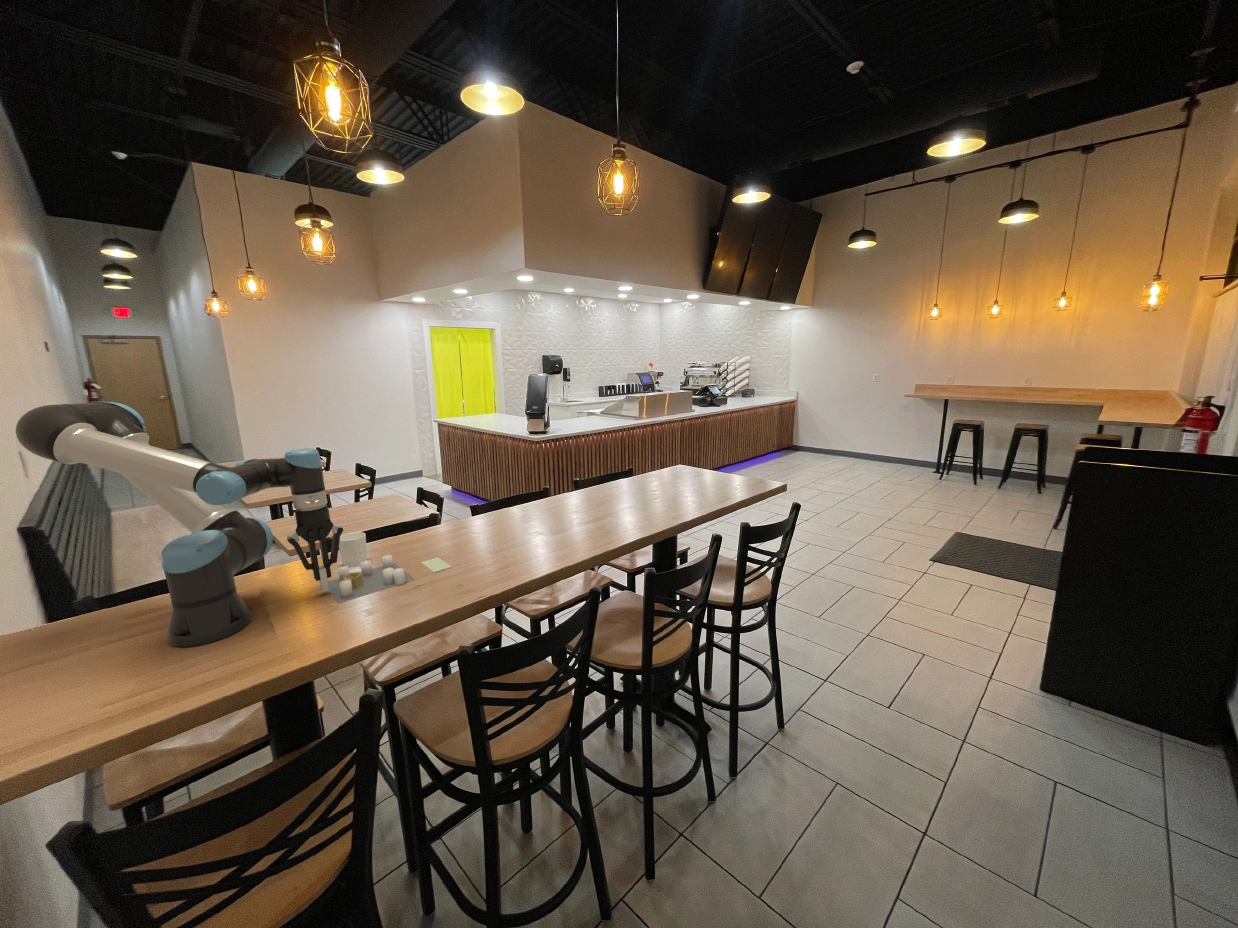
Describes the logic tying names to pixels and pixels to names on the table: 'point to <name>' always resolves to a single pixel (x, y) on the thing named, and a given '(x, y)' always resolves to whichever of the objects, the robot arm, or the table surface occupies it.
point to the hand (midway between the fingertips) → (325, 589)
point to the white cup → (353, 548)
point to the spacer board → (368, 580)
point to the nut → (354, 579)
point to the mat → (436, 564)
